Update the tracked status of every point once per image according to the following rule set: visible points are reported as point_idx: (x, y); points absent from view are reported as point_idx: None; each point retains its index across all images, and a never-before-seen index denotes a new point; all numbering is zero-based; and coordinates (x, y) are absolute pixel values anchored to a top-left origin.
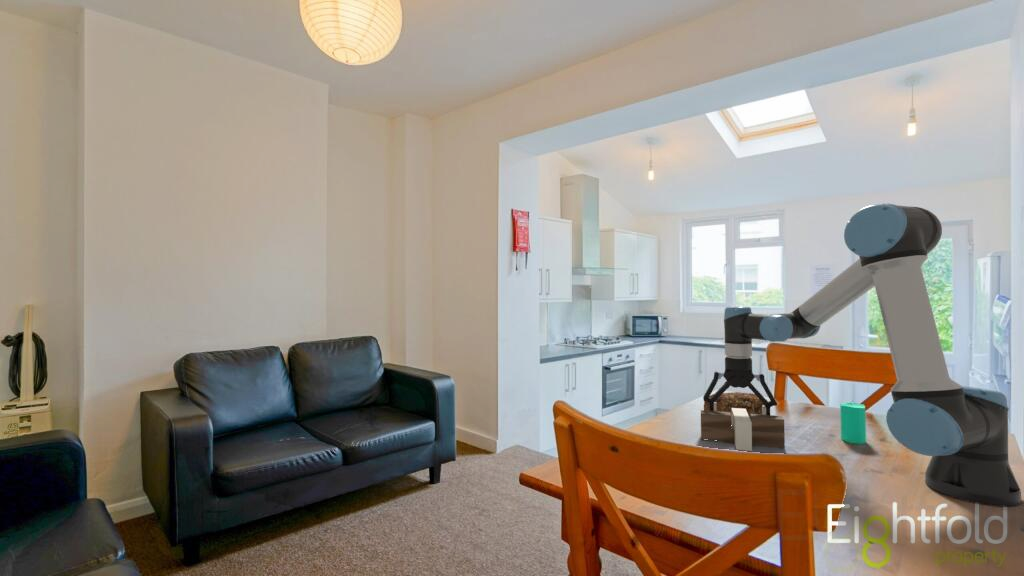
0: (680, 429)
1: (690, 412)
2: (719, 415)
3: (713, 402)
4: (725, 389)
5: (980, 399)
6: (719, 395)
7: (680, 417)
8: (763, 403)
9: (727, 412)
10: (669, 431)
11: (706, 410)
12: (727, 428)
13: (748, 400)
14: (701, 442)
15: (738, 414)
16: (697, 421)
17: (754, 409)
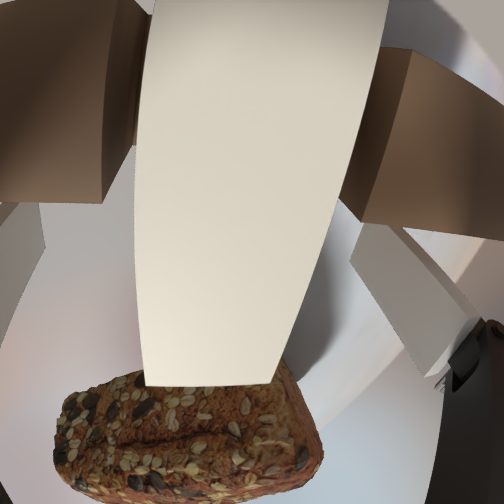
0: (446, 249)
1: None
2: (491, 97)
3: (489, 328)
4: (495, 502)
5: None
6: (500, 404)
7: (370, 377)
8: (71, 465)
9: (394, 205)
10: None
11: (309, 413)
12: None
13: (131, 479)
14: (444, 58)
15: (294, 116)
16: (334, 363)
17: (106, 440)
